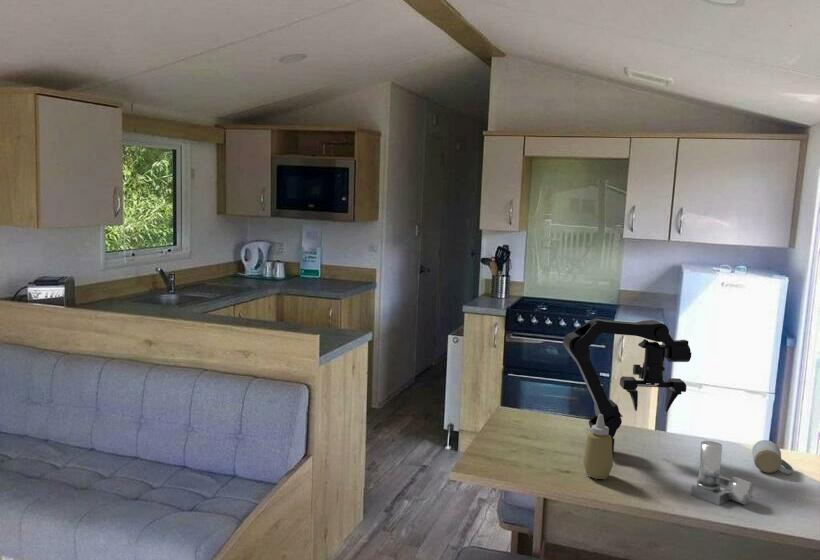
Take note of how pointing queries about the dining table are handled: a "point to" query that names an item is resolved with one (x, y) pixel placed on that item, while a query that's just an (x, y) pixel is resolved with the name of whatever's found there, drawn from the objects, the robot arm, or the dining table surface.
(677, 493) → the dining table surface
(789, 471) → the ceramic mug
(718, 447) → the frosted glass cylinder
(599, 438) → the squeeze bottle
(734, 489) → the duct saddle
